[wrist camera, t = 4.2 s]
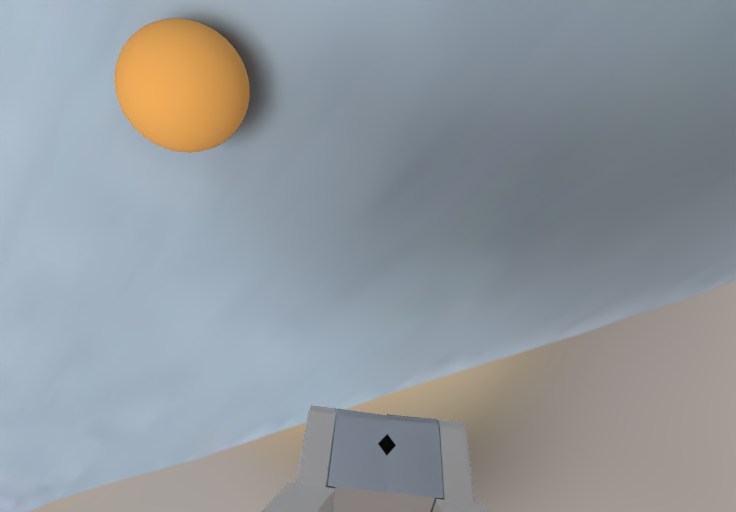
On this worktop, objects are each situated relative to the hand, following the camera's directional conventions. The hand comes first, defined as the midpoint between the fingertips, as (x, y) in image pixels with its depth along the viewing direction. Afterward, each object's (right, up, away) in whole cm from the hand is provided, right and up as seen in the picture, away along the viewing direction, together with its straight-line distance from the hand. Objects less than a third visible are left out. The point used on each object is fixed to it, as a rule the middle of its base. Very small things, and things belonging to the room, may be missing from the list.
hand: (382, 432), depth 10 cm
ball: (-9, +11, +15) cm, 21 cm away
